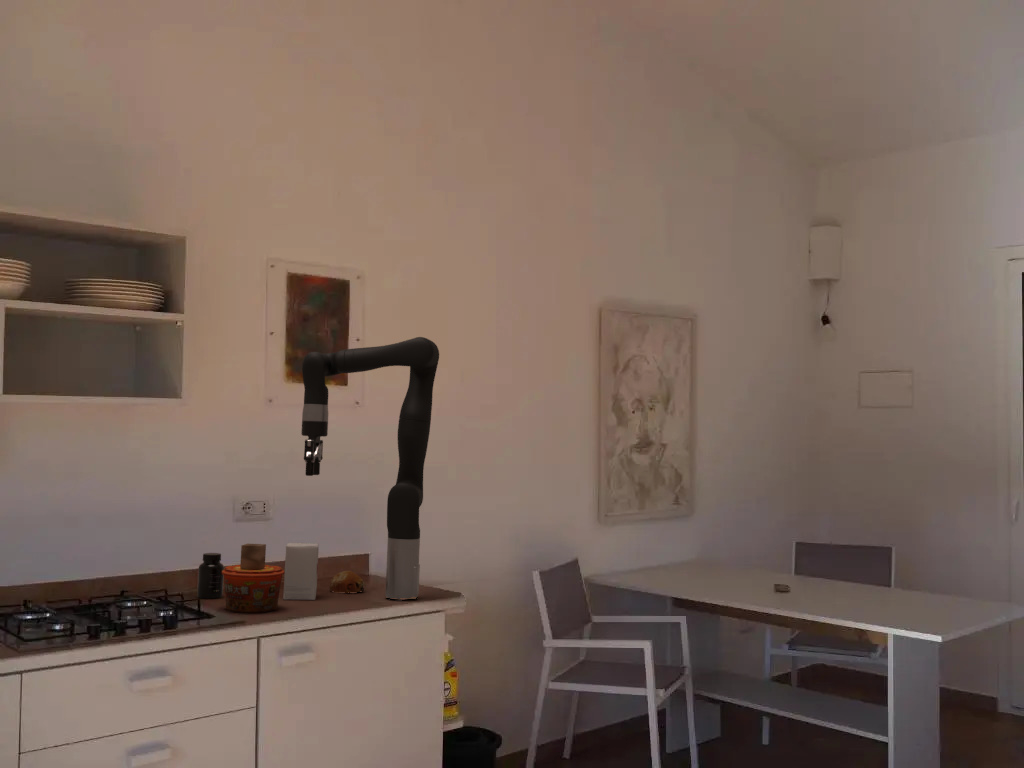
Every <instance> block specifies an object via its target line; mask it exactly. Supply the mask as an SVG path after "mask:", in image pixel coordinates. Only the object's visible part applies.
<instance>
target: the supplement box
mask: <svg viewBox="0 0 1024 768" xmlns="http://www.w3.org/2000/svg"><path fill="white" fill-rule="evenodd" d="M319 546H320V545H319V543H314V542H313V543H307V542H306V543H305V542H301V543H299V542H288V543H287V544H286V546H285V558H284V559H285V560H284V561H285V562H284V572H285V573H284V574H283V576H284V579H283V596H282V597H283V598H282V600H287V601H294V600H296V601H298V600H299V601H300V600H301V601H305V600H306V601H315V600H316V597H317V588H318V587H317V585H318V572H319V571H318V570H319V568H318V567H319Z"/></svg>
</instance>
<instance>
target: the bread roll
mask: <svg viewBox="0 0 1024 768" xmlns="http://www.w3.org/2000/svg"><path fill="white" fill-rule="evenodd" d="M364 587H366V584H365V583H364V580H363V579H362V577H360V575H358V574H357V573H355V572H353V571H351V570H344V571H340V572H338V573H336V574H334V575H333V577H331V579H330V581H329V591H330V592H331V591H334V592H345V593H348V592H349V593H350V592H360V591H363V592H364V591H365V588H364Z"/></svg>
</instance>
